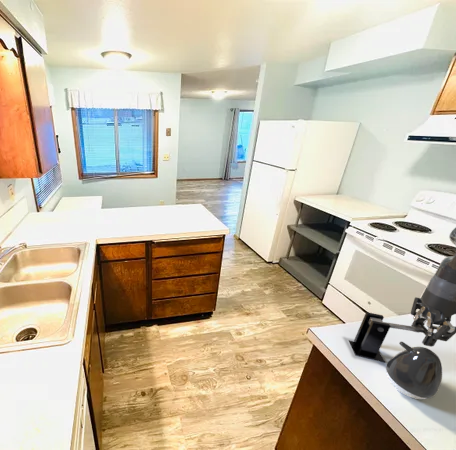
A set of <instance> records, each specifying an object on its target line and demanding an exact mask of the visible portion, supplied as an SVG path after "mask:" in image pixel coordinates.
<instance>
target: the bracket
mask: <svg viewBox="0 0 456 450" xmlns="http://www.w3.org/2000/svg"><path fill="white" fill-rule="evenodd" d="M370 317H372V318H379V319H381V320H382V321H383V320H384V318H385V317H384V315H383V314H379V313H374V312H370V311H369V312H368V311H366V312H365V314H364V316H363V319H362V321H361V323H360V325H359V327H358V330H357V333H356V334H355V338H354V339H353V340H349V339H348V343H349V345H350V348H351V350H352V352H353V354H354V356H356V357H360V358H364V359H368V360H373V361H377V362H381V363H383V364H384V363H386V360H385V358H384V357H383V355H382V354H381V352H380V349H381V347H382V345H383V343H384V341H385V339H386V337H387V336H388V333H389V331H390V329H391V328H390V327H391V326H390V325H389V324H387V323H388V322H387V323H382V322H377V321H372V322H371V324H370V325H369V323H368V322H369V319H370Z"/></svg>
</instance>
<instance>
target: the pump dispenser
mask: <svg viewBox="0 0 456 450" xmlns="http://www.w3.org/2000/svg"><path fill="white" fill-rule="evenodd" d="M399 345H400V346H401V347H402V348H403V349H404V350H402V351H400V352H398V353H397V354H395V355H394V356H393V357H391V358H390V360H388V362H387V363H386V364H385V371H386V376H387V379H388V381H389V382H390V384H391V385H392V386H393V387H394V388H395V389H396V390H397V391H398V392H400V393H401V394H402V395H405V396H407V397H410V398H411V399H414V400H415V399H416V400H426V399H431V398H433V397H435V396H436V395H437V394H438V393H439V390H440V387H441V384H442V381H443V365H442V362H441V361H442V360H441V359H440V357H439V356H438V355H437V354H436V353H435V352H434V350H432V349H429V348H427V347H424V346H412V347H411V345H408V344H407V343H405V342H404V341H399Z"/></svg>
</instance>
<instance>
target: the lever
mask: <svg viewBox="0 0 456 450" xmlns="http://www.w3.org/2000/svg"><path fill="white" fill-rule="evenodd" d="M372 321H377V322H382V323H387V324H389V325H390V326H391V327H390V329H396V330H402V331H409V332H413V331H415V332H414V333H418V332H419V333H421V334H422V333H423V334H424V336H426V334H428V328H427V326H425V324H424V325H423V324H421V323H418V324H417V327H413V326H411V325H406V324H398V323H393V322H388V321H387V322H385V321H383V320H381V319H379V318H372V317H370V319H369V322H368V323H369V325H370V324H371V322H372Z"/></svg>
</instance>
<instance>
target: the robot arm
mask: <svg viewBox="0 0 456 450" xmlns="http://www.w3.org/2000/svg"><path fill="white" fill-rule="evenodd" d="M448 238H449V241H450V243H452V244H453V245H454V246H456V226H455V227H454V228H453V229H452V230H451V231H450V233H449V237H448ZM410 309H411V310H410V315H411V316H413V318H412V319H413V322H412V323H411V325H410V326H413V327H417V324H418V323H421V324H423V325H424V326H425V323H426V328H427V330H428V334H426V335H424V338H423V339H422V341H421V344H423V345H424V346H425V347H426V346H427V347H434V346H435V345H436V343H437V341H443V342H448V341H449V340H450V339H451V338H453V336H455V334H456V326H453V324H452V323H451V322H452V316H454V315H456V254H454V255H453V256H446V257H444V258H443V259H442V261H441V262H440V263H439V265H438V267H437V269H436V271H435V273H434V274H433V275H432V276H431V278H430V280H429V282H428V283H427V286H426V287H425V289H424V291H423V293H422V295H421V296H420V297H416V296H415V297H414V299H413V304H412V306H411V308H410ZM435 330H436V331H435ZM434 331H435V332H434ZM412 332H414V333H416V332H415V331H412ZM417 333H418V334H419V333H420V332H417Z"/></svg>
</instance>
